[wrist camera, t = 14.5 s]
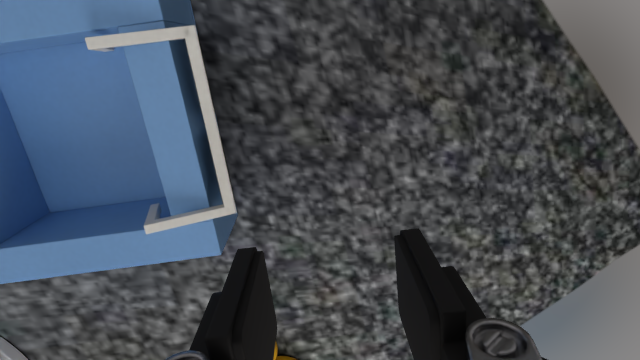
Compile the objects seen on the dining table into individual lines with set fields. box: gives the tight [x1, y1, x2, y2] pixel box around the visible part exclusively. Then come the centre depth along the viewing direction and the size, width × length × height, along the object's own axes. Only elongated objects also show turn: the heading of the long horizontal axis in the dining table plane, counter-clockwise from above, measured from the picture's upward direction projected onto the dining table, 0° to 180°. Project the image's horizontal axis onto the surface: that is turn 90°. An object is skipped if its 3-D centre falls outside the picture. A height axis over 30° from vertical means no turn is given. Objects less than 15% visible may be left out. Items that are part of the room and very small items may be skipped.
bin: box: [0, 0, 238, 284], centre depth 30 cm, size 20×20×8 cm
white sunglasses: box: [85, 25, 237, 234], centre depth 28 cm, size 6×13×4 cm, turn 8°
